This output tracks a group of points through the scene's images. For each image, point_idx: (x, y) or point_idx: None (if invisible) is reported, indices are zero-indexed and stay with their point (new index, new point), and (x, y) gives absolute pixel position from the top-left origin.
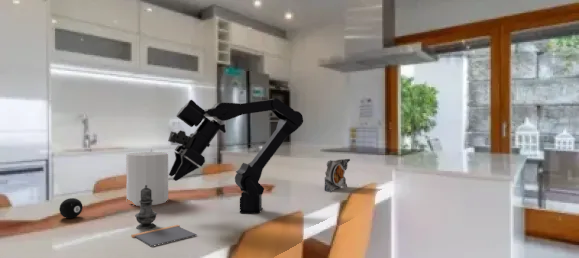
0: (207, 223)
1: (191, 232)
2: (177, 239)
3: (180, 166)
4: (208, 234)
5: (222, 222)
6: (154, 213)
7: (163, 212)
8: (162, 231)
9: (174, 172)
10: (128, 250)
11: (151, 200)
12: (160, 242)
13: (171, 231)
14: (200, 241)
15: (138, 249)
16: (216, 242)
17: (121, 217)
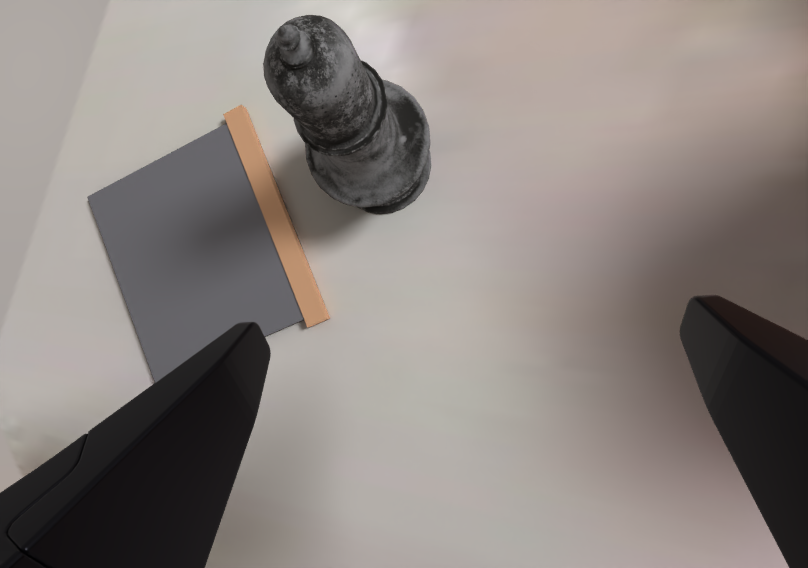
0: (332, 470)
1: None
2: (124, 297)
3: (18, 482)
4: None
5: (322, 548)
6: (348, 190)
7: (688, 260)
8: (248, 241)
9: (720, 391)
10: (90, 116)
11: (319, 144)
12: (108, 229)
13: (233, 281)
14: (93, 384)
15: (88, 151)
16: (62, 440)
17: (648, 7)
